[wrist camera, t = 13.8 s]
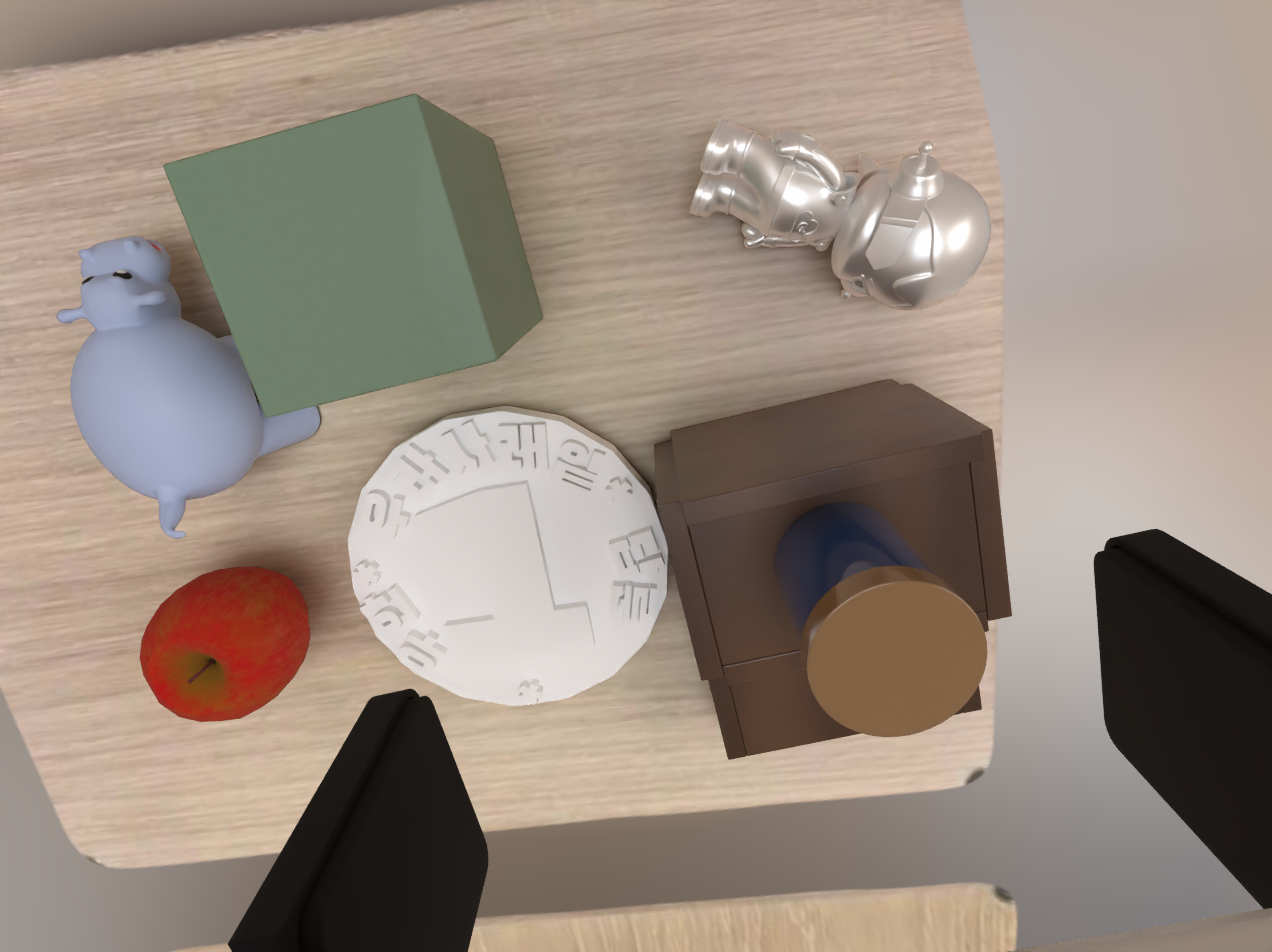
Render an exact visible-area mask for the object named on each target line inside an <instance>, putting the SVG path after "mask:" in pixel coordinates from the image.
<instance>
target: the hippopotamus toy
mask: <svg viewBox="0 0 1272 952" xmlns="http://www.w3.org/2000/svg"><path fill="white" fill-rule="evenodd" d="M79 255H80V257H81V258H82V263H81V274H82V277H83V282H82V286H81V299H82V305H81V307H79V308H77V309H64V310H61V311H59V312H58V313H57V319H58V320H59V321H60V322H62V323H71V322H73V321H75V320H77V319H80V318H85V319H87V320H88V321H89V322H90V323H91V324H92V325H93V327H94V328H95V329H96V330H95V331H94V332H93V333H92V334H91V335H90V336H89V337H88V338H87V340H86V341H85V342H84V344H83V345H82V347H81V349H80V350H79V352H78V354H77V357H76V359H75V362H74V366H73V370H72V375H71V401H72V407H73V411H74V415H75V418H76V421H77V424H78V426H79V429H80V431H81V433H82V435H83V437H84V439H85V441H86V442H87V444H88V446H89V447H90V449H91V450H92V452H93V453H94V455H95V456H96V457H97V458H98V460H99V461H100V462H101V463H102V464H103V466H104V467H105V468H106V469H107V470H108V471H109V472H110V473H111V474H112V475H113V476H115V477H116V478H117V479H118V480H119V481H121V482H122V483H123V484H125V485H126V486H128V487H129V488H131V489H133V490H134V491H136V492H138V493H140V494H143V495H145V496H148V497H151V498H155V499H158V503H159V520H160V525H161V528H162V530H163V531H164V532H165V533H166V534H167V535H168V536H170V537H172V538H176V539H179V538H183V537H185V536H186V533H185V532H182V531H175V528H176V526H177V525H178V523H179V522H180V520H181V518H182V517H183V514H184V511H185V505H186V500H191V499H197V498H202V497H206V496H210V495H213V494H216V493H218V492H221V491H223V490H225V489H227V488H229V487H231V486H233V485H234V484H236V483H237V482H238V481H240V480H241V479H242V478H243V477H244V476H245V475H246V474H247V472H248V471H249V470H250V468H251V467H252V465H253V463H254V461H255V459H256V458H258V457H261V456H264V455H266V454H269V453H271V452H274V451H277V450H279V449H282V448H284V447H287V446H289V445H292V444H295V443H297V442H300V441H302V440H305V439H307V438H309V437H311V436H312V435H313V434H314V433H315V432H316V431H317V429H318V427H319V425H320V415H319V412H318V409H317V407H316V406H313V407H309V408H305V409H301V410H297V411H293V412H289V413H285V414H281V415H277V416H273V417H269V418H266V417H265V415H264V412H263V410H262V407H261V405H260V403H257V401H256V397H255V394H254V391H253V388H252V385H251V384H252V383H251V380H250V378H249V376H248V373H247V371H246V368H245V366H244V363H243V361H242V358H241V356H240V353H239V351H238V349H237V346H236V344H235V341H234V339H233V336H232V335H229V336H224V337H220V338H216V337H215V336H213V335H212V334H210V333H209V332H207V331H206V330H204V329H202V328H200V327H199V326H197V325H195V324H193V323H190V322H188V321H186V320H183V319H181V312H182V309H181V304H180V300H179V297H178V295H177V293H176V291H175V289H174V287H173V286H172V285H171V283H170V281H169V276H170V272H171V259H170V256H169V254H168V252H167V251H166V250H165V248H164V247H163V246H162V245H160V244H159V243H158V242H156V241H154V240H146V239H144V238H142V237H139V236H131V237H125V238H120V239H115V240H111V241H106V242H102V243H98V244H96V245H94V246H92V247H91V248H90V249H84V250H80V251H79Z"/></svg>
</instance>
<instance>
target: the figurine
mask: <svg viewBox="0 0 1272 952" xmlns="http://www.w3.org/2000/svg"><path fill="white" fill-rule="evenodd" d="M932 150H933V144H932V143H931V142H930V141H924V142H923V143H921V145H920V147H919V151H920V153H921V154H918V153H917V154H910V155H907V156H906V157H904V158H903V159H902V160H901V161H900V162H892V163H887V164H884V165H881V166H880V165H879V164H878V163H877V162H876V161H875V160H873V159H872V158H871V157H870V156H869V155H867V154H866V153H864V152H861V153H860V156H859V170H858V173H856V172H847V173H846V172H843V170H842V168H841V167H840V165H839V164H838V163H837V161H836V160H835V159H834V158H833V157H832V156H831V154H830V153H829V152H828V151H827V150H826V149H825V148H824V147H822V146H821V145H820V141H818V140H816V139H814V138H813V137H811V136H810V135H808V134H805V133H802V132H800V131H798V130H796V129H793V128H790V127H784V128H780V129H779V130H777V131H776V132H774V134H773V135H772V137H771V139H768V138H765V137H762V136H760V135H757V131H756V130H753V131H751V130H749V129H746V128H744V127H742V126H740V125H737V124H735V123H733V122H730V120H729V119H727V118H724V117H723V118H721V120H720V121H719V122H718V124H717V126H716V127H715V129H714V131H713V132H712V134H711V136H710V138H709V141H708V143H707V146H706V148H705V151H704V154H703V158H702V161H701V166H700V170H701V171H702V172H704V173H703V175H702V177H701V179H700V181H699V183H698V186H697V188H696V190H695V193H694V196H693V199H692V202H691V206H690V213H691V214H693V215H699V216H702V217H709V216H710V215H711V214H712V213H713V212H715V211H720V212H724V213H725V214H726V215H729V214H732V215H734V216H735V217H737V218H739V219H740V220H742V221H744V222H743V224H742V233H743V235H744V237H745V238H746V239H745V240H744V245H745V247H746V248H755V247H758V246H762V245H763V246H766V247H771V248H776V247H777V246H804V245H810V244H811V245H813V246H814V247H815V249H816V250H818V251H825V250H826V249H827V248H828V246H829V244H830V243H831V242H832V240H833V239H834V238H835V241H834V245H833V250H832V259H831V262H832V269H833V272H834V274H835V276H836V277H837V278H839V279H841V284H842V286H843V288H844V289H843V290H842V291H841V296H842V297H843V298H845V299H847V298H849V297H850V296H851V295H853V296H857V297H863V296H868V295H871V296H873V297H874V298H875V299H876V300H877V301H879V302H880V303H882V304H884V305H886V306H888V307H891V308H895V309H900V310H919V309H923V308H927V307H930V306H933V305H936V304H939V303H941V302H943V301H945V300H947V299H949V298H951V297H952V296H954V295H955V294H956V293H958V292H959V291H960V290H961V289H962V288H963V287H964V286H965V285H966V284H967V283H968V282H969V280H970V279H971V278H972V276H973V275H974V274H975V272H976V271H977V269H978V267H979V265H980V264H981V262H982V260H983V258H984V255H985V253H986V250H987V247H988V244H989V240H990V235H991V219H990V214H989V211H988V208H987V205H986V203H985V201H984V199H983V198H982V196H981V195H980V193H979V192H978V191H977V190H976V189H975V188H974V187H973V186H972V185H971V184H969V183H968V182H967V181H965V180H964V179H962V178H960V177H958V176H957V175H955V174H952V173H950V172H948V171H945V170H943V169H941V168H940V165H939V163H938V161H937V160H936V159H934V158H933V157H931V156H929V155H928V154H930V153H931V152H932Z"/></svg>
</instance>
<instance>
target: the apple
mask: <svg viewBox="0 0 1272 952" xmlns="http://www.w3.org/2000/svg"><path fill="white" fill-rule="evenodd" d="M309 640H310V629H309V620H308V608H307V605H306V603H305V601H304V598H303V596H302V593H301V592H300V591H299V589H298V588H297V587H296V586H295V584H294V583H293V582H292V580H291V579H289V578H288V577H286V576H284V575H283V574H281V573H279V572H275V571H271V570H267V569H264V568H260V567H235V568H226V569H219V570H216V571H212V572H209V573H206V574H203V575H201V576H199V577H197V578H196V579H194V580H192V581H191V582H189V583H187V584H186V585H184V586H182V587H181V588H179V589H177V590H176V591H175V592H174V593H173V594H172V595H171V596H170V597H169V598H168V599H166V600H165V601H164V602H163V603H162V604H161V605H160V606H159V608H158V610H157V611H156V613H155V614H154V616H153V617H152V619H151V620H150V622H149V624H148V625H147V628H146V630H145V633H144V635H143V638H142V643H141V652H140V661H141V666H142V670H143V675H144V677H145V679H146V681H147V682H148V684H149V686H150V688H151V689H152V691H153V693H154V695H155V696H156V698H157V700H158V702H159V703H160V704H161V705H163V706H164V707H166V708H167V709H169V710H170V711H171V712H173V713H174V714H176V715H177V716H179V717H182V718H186V719H191V720H195V721H199V722H206V721H225V720H232V719H240V718H242V717H244V716H246V715H248V714H250V713H252V712H254V711H255V710H257V709H259V708H261V707H263V706H264V705H265V704H267V703H268V702H270V701H271V700H272V699H274V698H275V697H276V696H278V695H279V693H280V692H281V691H282V690H283V689H284V688H285V687H286V685H287V684H288V683H289V682H290V681H291V680H292V679H293V677H294V676H295V674H296V673H297V671H298V669H299V668H300V666H301V664H302V663H303V661H304V659H305V656H306V653H307V649H308V646H309Z"/></svg>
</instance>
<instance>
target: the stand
mask: <svg viewBox="0 0 1272 952" xmlns="http://www.w3.org/2000/svg"><path fill="white" fill-rule="evenodd" d="M163 167H164V169H165V172H166V174H167V177H168V179H169V182H170V184H171V187H172V189H173V192H174V194H175V196H176V199H177V201H178V204H179V206H180V209H181V211H182V214H183V216H184V219H185V221H186V223H187V226H188V228H189V231H190V233H191V236H192V238H193V241H194V243H195V246H196V248H197V250H198V253H199V255H200V258H201V260H202V263H203V265H204V268H205V270H206V272H207V275H208V277H209V280H210V282H211V285H212V287H213V290H214V292H215V295H216V297H217V299H218V302H219V304H220V307H221V309H222V312H223V314H224V317H225V319H226V322H227V324H228V326H229V329H230V331H231V334H232V336H233V339H234V341H235V344H236V346H237V349H238V351H239V353H240V356H241V358H242V361H243V363H244V366H245V368H246V371H247V373H248V376H249V378H250V380H251V383H252V385H253V388H254V390H255V393H256V395H257V398H258V400H259V403H260V405H261V407H262V410H263V412H264V415H265V417H266V418H269V417H273V416H277V415H281V414H285V413H289V412H293V411H297V410H301V409H305V408H309V407H313V406H317V405H321V404H326V403H330V402H334V401H338V400H342V399H346V398H350V397H354V396H358V395H362V394H366V393H370V392H374V391H378V390H382V389H386V388H390V387H394V386H398V385H402V384H406V383H410V382H414V381H418V380H422V379H426V378H430V377H434V376H438V375H442V374H446V373H450V372H454V371H458V370H462V369H466V368H470V367H474V366H478V365H482V364H486V363H490V362H494V361H496V360H498V359H499V358H500V357H501V356H502V355H503V354H504V353H505V352H506V351H508V350H509V349H510V348H511V347H512V346H513V345H514V344H515V343H516V342H517V341H519V340H520V339H521V338H522V337H523V336H524V335H525V334H526V333H527V332H528V331H530V330H531V329H532V328H533V327H534V326H535V325H536V324H537V323H538V322H539V321H541V320H542V319H543V315H542V312H541V308H540V305H539V301H538V297H537V294H536V290H535V287H534V283H533V280H532V276H531V272H530V269H529V265H528V262H527V258H526V255H525V251H524V248H523V244H522V240H521V237H520V233H519V230H518V226H517V223H516V219H515V215H514V212H513V208H512V205H511V201H510V198H509V194H508V191H507V187H506V183H505V180H504V176H503V173H502V169H501V166H500V162H499V158H498V155H497V151H496V148H495V144H494V141H493V139H491V138H489V137H488V136H486V135H484V134H483V133H481V132H479V131H478V130H476V129H474V128H472V127H471V126H469V125H467V124H466V123H464V122H462V121H461V120H459V119H457V118H456V117H454V116H452V115H451V114H449V113H447V112H445V111H444V110H442V109H440V108H439V107H437V106H435V105H434V104H432V103H430V102H429V101H427V100H425V99H424V98H422V97H420V96H419V95H417V94H412V95H408V96H405V97H401V98H397V99H394V100H390V101H387V102H383V103H380V104H376V105H373V106H369V107H366V108H362V109H358V110H355V111H351V112H348V113H344V114H341V115H337V116H334V117H330V118H327V119H323V120H319V121H316V122H312V123H309V124H305V125H302V126H298V127H295V128H291V129H288V130H284V131H280V132H277V133H273V134H270V135H266V136H263V137H259V138H256V139H252V140H249V141H245V142H241V143H238V144H234V145H231V146H227V147H224V148H220V149H217V150H213V151H210V152H206V153H202V154H199V155H195V156H192V157H188V158H185V159H181V160H178V161H174V162H171V163H167V164H165V165H163Z"/></svg>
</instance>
